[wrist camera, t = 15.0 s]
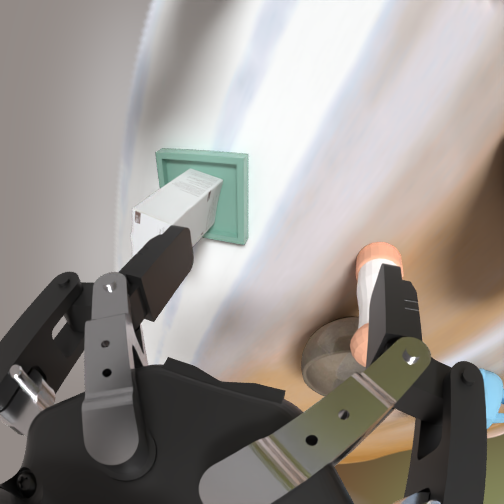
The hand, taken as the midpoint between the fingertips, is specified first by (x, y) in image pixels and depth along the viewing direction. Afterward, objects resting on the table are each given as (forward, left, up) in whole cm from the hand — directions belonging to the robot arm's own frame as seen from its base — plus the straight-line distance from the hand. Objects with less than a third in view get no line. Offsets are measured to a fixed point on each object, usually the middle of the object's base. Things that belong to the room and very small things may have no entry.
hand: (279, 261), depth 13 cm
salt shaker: (+20, +10, -30) cm, 38 cm away
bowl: (+38, +10, -30) cm, 50 cm away
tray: (+13, -18, -30) cm, 37 cm away
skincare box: (+13, -18, -30) cm, 37 cm away
